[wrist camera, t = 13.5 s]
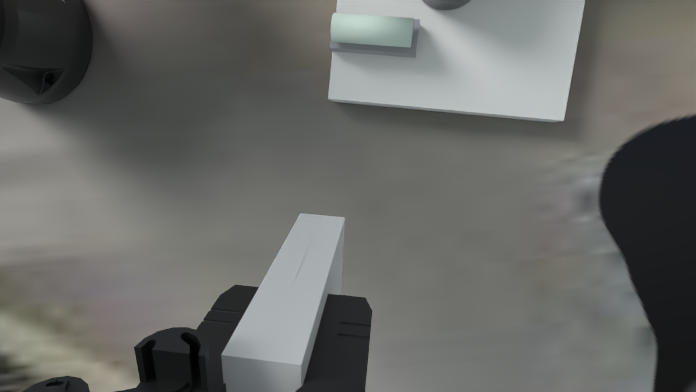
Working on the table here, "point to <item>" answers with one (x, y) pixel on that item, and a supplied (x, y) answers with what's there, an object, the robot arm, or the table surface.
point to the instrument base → (457, 56)
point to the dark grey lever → (446, 4)
